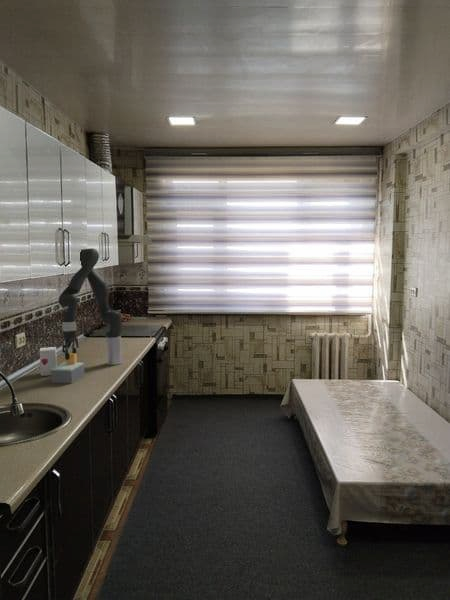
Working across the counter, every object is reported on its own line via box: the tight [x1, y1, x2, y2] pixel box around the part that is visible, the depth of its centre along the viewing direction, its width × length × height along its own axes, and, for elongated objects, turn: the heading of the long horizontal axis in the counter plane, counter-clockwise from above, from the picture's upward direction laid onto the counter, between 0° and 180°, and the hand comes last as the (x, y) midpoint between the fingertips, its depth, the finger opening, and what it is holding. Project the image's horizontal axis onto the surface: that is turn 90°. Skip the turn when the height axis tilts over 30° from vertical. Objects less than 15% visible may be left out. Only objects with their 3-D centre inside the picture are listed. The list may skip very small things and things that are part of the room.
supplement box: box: [39, 346, 58, 377], centre depth 303 cm, size 9×9×15 cm
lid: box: [51, 352, 85, 371], centre depth 288 cm, size 15×12×8 cm
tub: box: [50, 363, 85, 384], centre depth 288 cm, size 15×12×7 cm
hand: (71, 357), depth 292 cm, fingers open, 8 cm apart
